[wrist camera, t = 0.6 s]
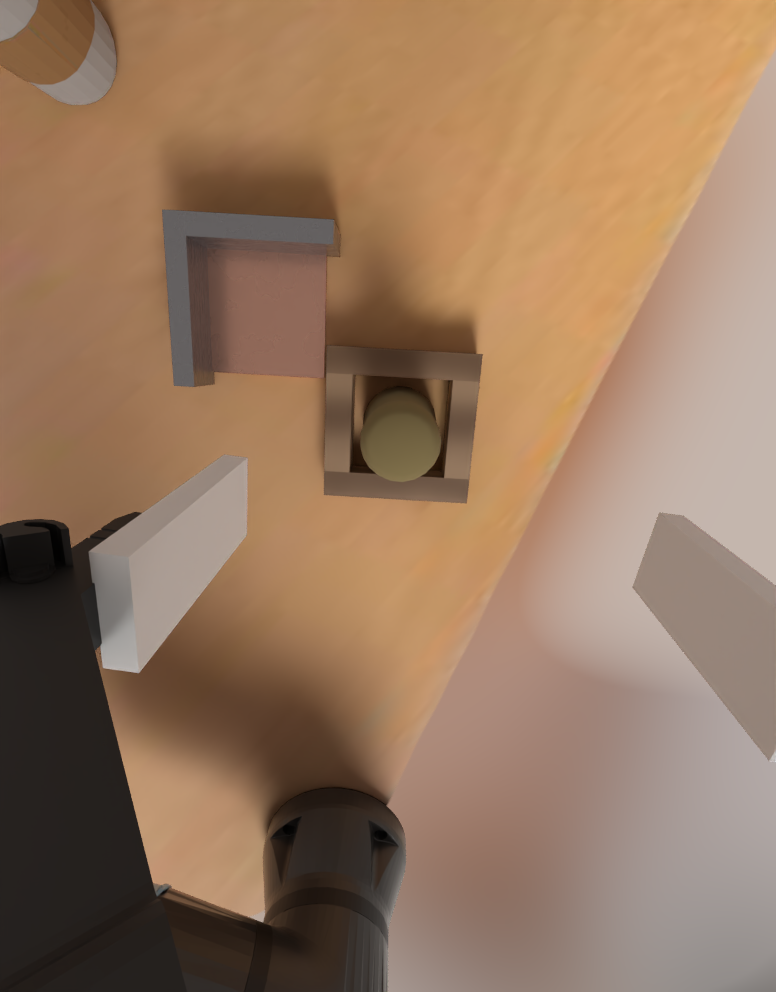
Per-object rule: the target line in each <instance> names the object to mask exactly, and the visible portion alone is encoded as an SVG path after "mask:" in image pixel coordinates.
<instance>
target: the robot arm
mask: <svg viewBox="0 0 776 992" xmlns="http://www.w3.org/2000/svg"><path fill="white" fill-rule="evenodd" d="M247 479H248V458H246V457H239V456H231V455H223V456H221V457H220V458H219V459H217V460H216V461H214V462H213V463H212V464H210V465H209V466H207V467H206V468H205V469H203V470H202V471H200V472H199V473H198V474H196V475H195V476H193V477H192V478H191V479H189V480H188V481H186V482H185V483H184V484H182V485H181V486H179V487H178V488H177V489H175V490H174V491H172V492H171V493H170V494H168V495H167V496H165V497H164V498H163V499H161V500H160V501H158V502H157V503H156V504H154V505H153V506H152V507H150V508H149V509H147V510H146V511H145V512H143V513H139V512H134V513H131V514H128V515H125V516H122V517H119V518H117V519H114V520H113V521H111V522H110V523H109V524H107V525H106V526H104V527H103V528H101V530H98V531H97V532H95V533H94V534H92V535H91V536H90V538H86V539H85V540H83V541H82V542H80V543H79V544H77V545H76V546H74V547H73V548H71V543H70V536H69V529H68V527H67V526H66V525H65V524H64V523H61V522H58V521H55V520H44V519H35V520H22V521H17V522H12V523H7V524H4V525H1V526H0V992H388V927H389V923H390V920H391V917H392V913H393V910H394V907H395V903H396V900H397V896H398V893H399V890H400V886H401V883H402V880H403V876H404V872H405V865H406V841H405V834H404V831H403V828H402V826H401V824H400V822H399V820H398V818H397V817H396V816H395V814H394V813H393V812H392V811H391V810H390V809H389V808H388V807H387V806H385V805H384V804H383V803H381V802H380V801H378V800H377V799H375V798H373V797H371V796H369V795H366V794H364V793H361V792H357V791H353V790H348V789H340V788H326V789H318V790H313V791H309V792H306V793H303V794H301V795H299V796H297V797H295V798H293V799H291V800H290V801H288V802H287V803H286V804H284V805H283V806H282V807H281V808H280V809H279V810H278V812H277V813H276V814H275V816H274V817H273V819H272V821H271V823H270V826H269V830H268V834H267V837H266V841H265V845H264V851H263V873H264V897H265V917H264V922H263V923H262V922H259V921H257V920H254V919H252V918H250V917H247V916H244V915H241V914H238V913H236V912H233V911H230V910H227V909H225V908H222V907H219V906H216V905H214V904H211V903H208V902H206V901H203V900H201V899H198V898H195V897H193V896H190V895H188V894H185V893H182V892H180V891H177V890H175V889H172V887H171V885H169V884H164V885H159V884H155V883H153V882H152V878H151V874H150V870H149V866H148V862H147V858H146V854H145V850H144V846H143V842H142V838H141V834H140V830H139V826H138V822H137V818H136V814H135V810H134V806H133V802H132V798H131V794H130V790H129V786H128V782H127V778H126V774H125V770H124V766H123V762H122V758H121V754H120V750H119V746H118V742H117V738H116V734H115V730H114V726H113V722H112V718H111V714H110V710H109V706H108V702H107V698H106V694H105V690H104V686H103V682H102V678H101V674H100V670H99V666H98V662H97V658H96V654H95V650H96V649H97V648H98V647H99V646H100V648H101V656H102V664H103V668H106V669H113V670H120V671H127V672H134V673H140V671H141V670H142V669H143V668H144V666H145V665H146V664H147V662H148V661H149V660H150V659H151V657H152V656H153V655H154V653H155V652H156V651H157V650H158V648H159V647H160V646H161V644H162V643H163V642H164V641H165V639H166V638H167V637H168V635H169V634H170V633H171V632H172V630H173V629H174V628H175V627H176V625H177V624H178V623H179V621H180V620H181V619H182V618H183V616H184V615H185V614H186V612H187V611H188V610H189V609H190V607H191V606H192V605H193V603H194V602H195V601H196V600H197V598H198V597H199V596H200V594H201V593H202V592H203V591H204V589H205V588H206V587H207V586H208V584H209V583H210V582H211V580H212V579H213V578H214V577H215V575H216V574H217V573H218V571H219V570H220V569H221V568H222V566H223V565H224V564H225V562H226V561H227V560H228V559H229V557H230V556H231V555H232V554H233V552H234V551H235V550H236V548H237V547H238V546H239V545H240V543H241V542H242V541H243V539H244V538H245V537H246V536H247ZM633 589H634V590H635V591H636V593H637V594H638V595H639V596H640V598H641V599H642V600H643V601H644V603H645V604H646V605H647V607H648V608H649V609H650V610H651V611H652V613H653V614H654V615H655V617H656V618H657V619H658V621H659V622H660V623H661V624H662V626H663V627H664V628H665V629H666V631H667V632H668V633H669V635H670V636H671V637H672V638H673V639H674V641H675V642H676V643H677V645H678V646H679V647H680V648H681V650H682V651H683V652H684V654H685V655H686V656H687V657H688V659H689V660H690V661H691V662H692V664H693V665H694V666H695V668H696V669H697V670H698V671H699V673H700V674H701V675H702V676H703V678H704V679H705V680H706V682H707V683H708V684H709V685H710V687H711V688H712V689H713V690H714V692H715V693H716V694H717V695H718V697H719V698H720V699H721V701H722V702H723V703H724V704H725V706H726V707H727V708H728V709H729V711H730V712H731V713H732V715H733V716H734V717H735V718H736V720H737V721H738V722H739V723H740V725H741V726H742V727H743V729H744V730H745V731H746V732H747V734H748V735H749V736H750V737H751V739H752V740H753V741H754V743H755V744H756V745H757V746H758V748H759V749H760V750H761V751H762V753H763V754H764V755H765V756H766V758H767V759H768V760H769V761H772V762H776V585H774V584H773V583H772V582H770V581H769V580H768V579H766V578H765V577H764V576H762V575H761V574H760V573H758V572H757V571H756V570H755V569H753V568H752V567H751V566H749V565H748V564H747V563H745V562H744V561H742V560H741V559H740V558H739V557H737V556H736V555H735V554H733V553H732V552H731V551H729V550H728V549H727V548H725V547H724V546H723V545H721V544H720V543H719V542H717V541H716V540H715V539H714V538H712V537H711V536H710V535H708V534H707V533H706V532H704V531H703V530H702V529H700V528H699V527H698V526H696V525H695V524H694V523H692V522H691V521H690V520H688V519H687V518H686V517H684V516H681V515H673V514H666V513H659V514H658V517H657V520H656V523H655V526H654V529H653V531H652V534H651V537H650V540H649V543H648V545H647V548H646V551H645V554H644V557H643V559H642V562H641V565H640V568H639V570H638V573H637V576H636V579H635V582H634V584H633Z"/></svg>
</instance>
